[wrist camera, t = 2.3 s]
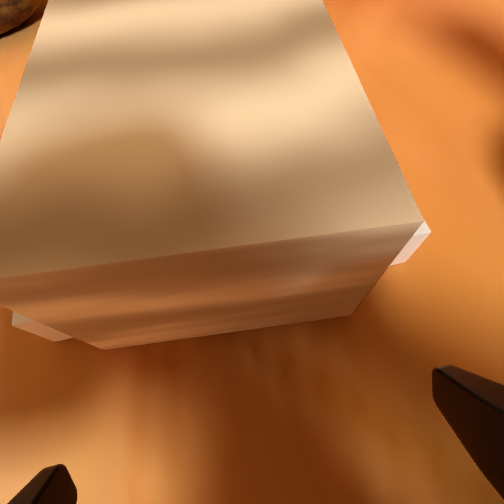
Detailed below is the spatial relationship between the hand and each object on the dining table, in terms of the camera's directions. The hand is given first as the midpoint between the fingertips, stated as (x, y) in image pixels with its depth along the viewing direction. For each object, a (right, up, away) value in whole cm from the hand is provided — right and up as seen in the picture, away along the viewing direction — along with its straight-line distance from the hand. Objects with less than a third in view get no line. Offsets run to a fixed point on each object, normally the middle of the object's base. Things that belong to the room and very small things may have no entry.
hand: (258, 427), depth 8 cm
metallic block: (-2, +7, +12) cm, 14 cm away
